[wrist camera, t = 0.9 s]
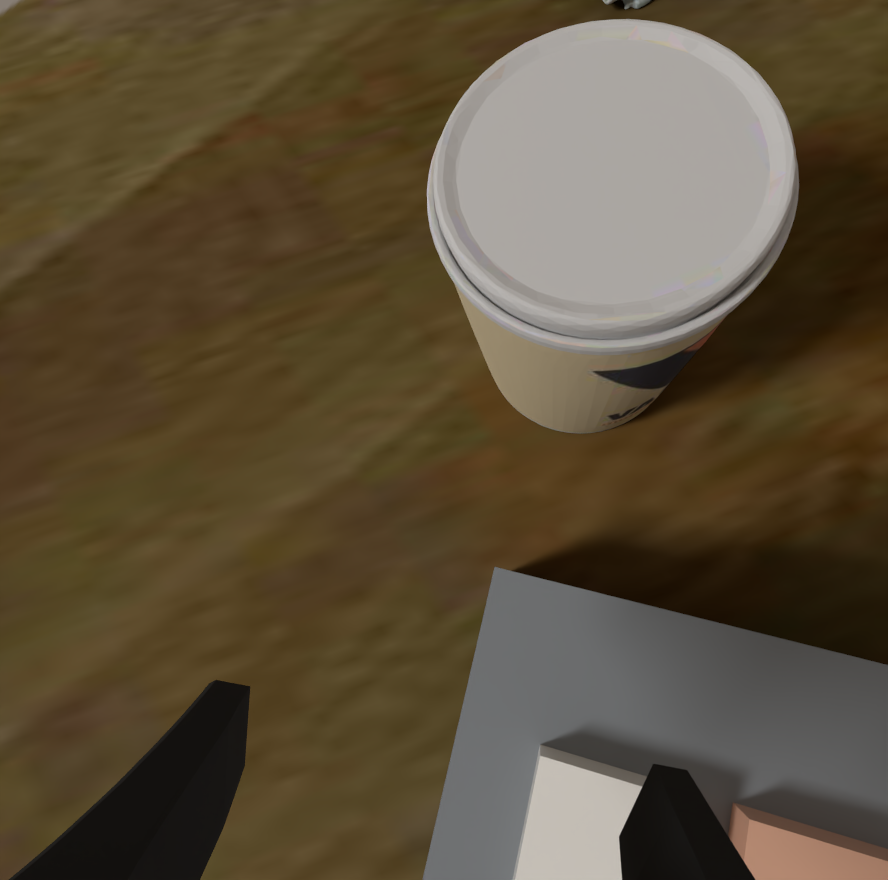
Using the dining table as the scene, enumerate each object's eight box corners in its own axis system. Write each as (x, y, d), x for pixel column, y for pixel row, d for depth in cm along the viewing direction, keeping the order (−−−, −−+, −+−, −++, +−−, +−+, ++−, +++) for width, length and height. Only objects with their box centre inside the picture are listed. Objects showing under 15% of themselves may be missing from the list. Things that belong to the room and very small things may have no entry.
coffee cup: (623, 496, 26) (693, 407, 14) (429, 385, 28) (352, 231, 16) (734, 308, 27) (881, 83, 15) (539, 217, 29) (540, -37, 18)
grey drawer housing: (844, 1135, 20) (941, 1304, 15) (413, 969, 23) (379, 1067, 18) (889, 671, 23) (983, 688, 18) (502, 574, 25) (494, 566, 21)
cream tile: (668, 967, 17) (680, 1000, 16) (506, 909, 18) (503, 935, 17) (696, 791, 18) (709, 807, 17) (540, 744, 19) (540, 755, 18)
